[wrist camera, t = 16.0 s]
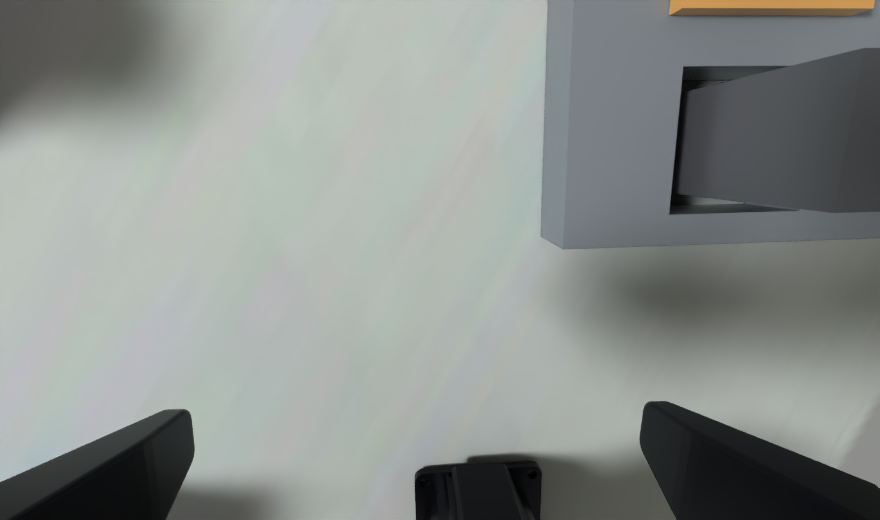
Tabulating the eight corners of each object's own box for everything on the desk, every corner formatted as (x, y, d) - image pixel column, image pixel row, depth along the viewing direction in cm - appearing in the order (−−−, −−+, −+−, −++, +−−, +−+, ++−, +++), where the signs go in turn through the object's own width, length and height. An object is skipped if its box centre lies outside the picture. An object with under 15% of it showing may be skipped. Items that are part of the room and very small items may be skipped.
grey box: (743, 97, 20) (1014, 47, 11) (731, 188, 21) (973, 209, 12) (657, 98, 19) (864, 47, 11) (648, 190, 20) (833, 213, 12)
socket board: (823, 227, 21) (889, 237, 18) (540, 236, 20) (563, 249, 17) (887, -137, 18) (980, -194, 15) (552, -146, 17) (582, -209, 14)
